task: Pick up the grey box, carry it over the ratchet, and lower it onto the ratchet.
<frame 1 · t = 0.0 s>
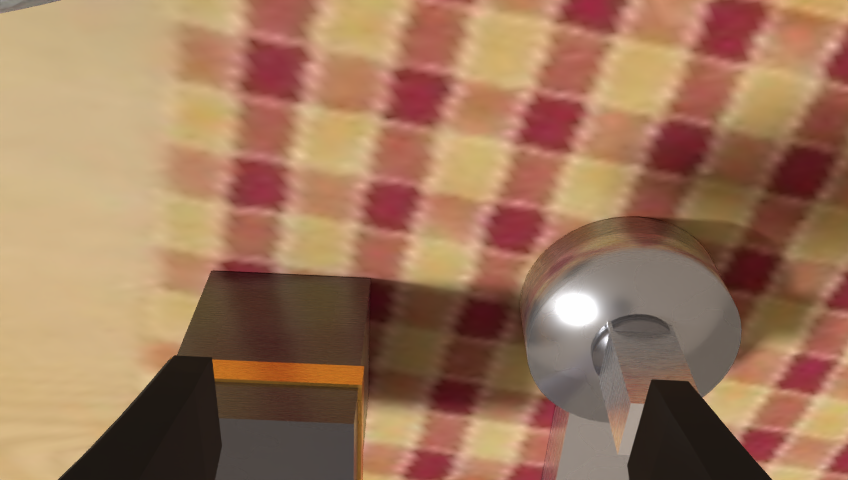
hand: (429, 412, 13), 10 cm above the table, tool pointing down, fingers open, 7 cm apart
ratchet: (618, 300, 25), on the table
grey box: (294, 336, 25), on the table
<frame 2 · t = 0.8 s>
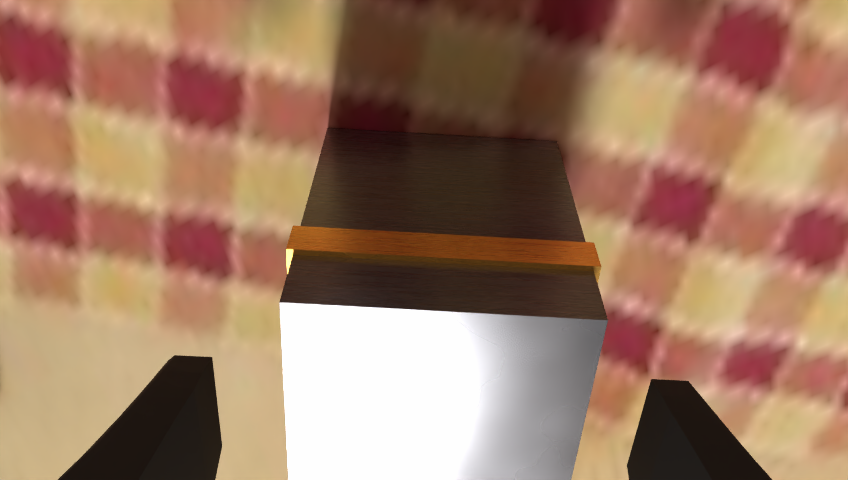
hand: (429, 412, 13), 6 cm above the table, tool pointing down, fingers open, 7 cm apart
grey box: (435, 231, 18), on the table
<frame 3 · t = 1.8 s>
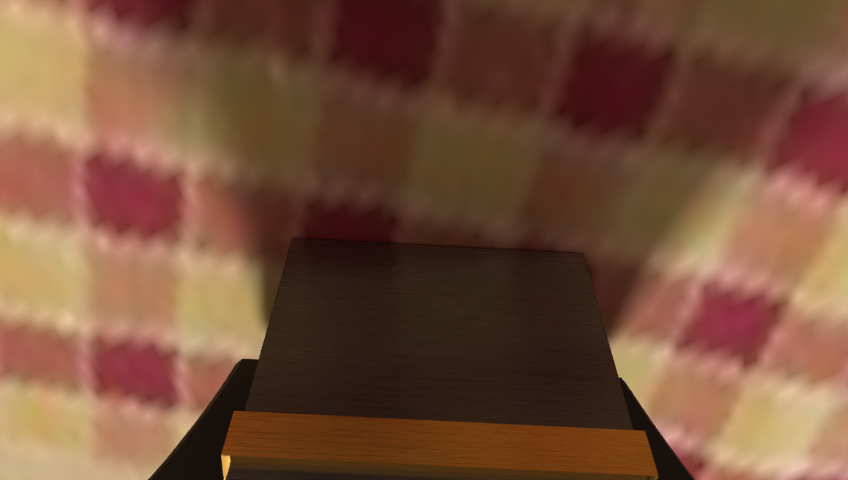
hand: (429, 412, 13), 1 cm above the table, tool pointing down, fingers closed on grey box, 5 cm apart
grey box: (429, 356, 14), on the table, touching gripper
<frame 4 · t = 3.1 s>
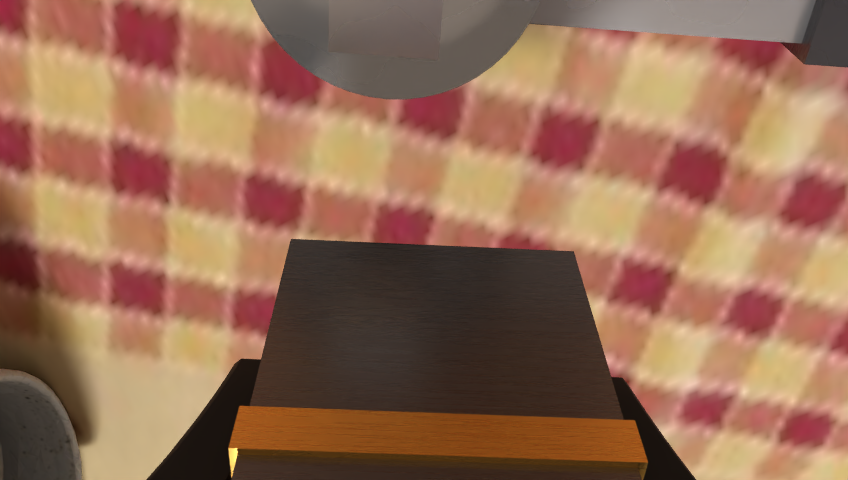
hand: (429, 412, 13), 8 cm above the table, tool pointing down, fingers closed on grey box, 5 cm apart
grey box: (425, 353, 15), point 7 cm above the table, touching gripper
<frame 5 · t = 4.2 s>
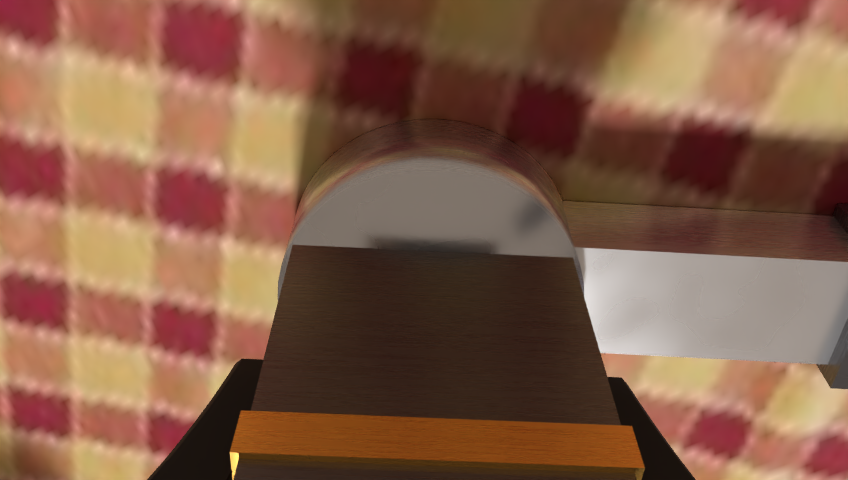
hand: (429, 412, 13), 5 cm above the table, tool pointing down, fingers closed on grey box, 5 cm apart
ratchet: (431, 245, 18), on the table
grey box: (425, 358, 15), point 3 cm above the table, touching gripper
when the fingers open (5 cm above the table, at t = 4.8 s): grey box stays where it is, resting on ratchet.
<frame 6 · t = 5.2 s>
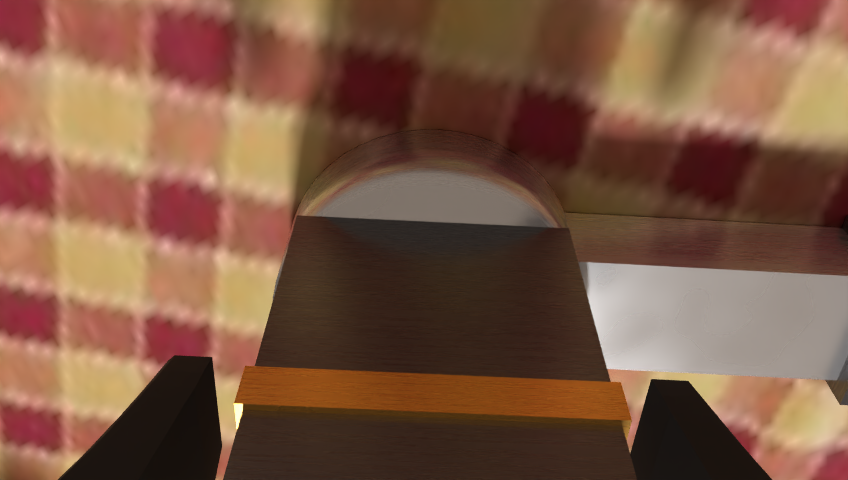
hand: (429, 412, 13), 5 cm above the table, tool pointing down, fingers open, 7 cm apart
ratchet: (430, 257, 17), on the table
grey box: (426, 328, 15), point 2 cm above the table, touching ratchet
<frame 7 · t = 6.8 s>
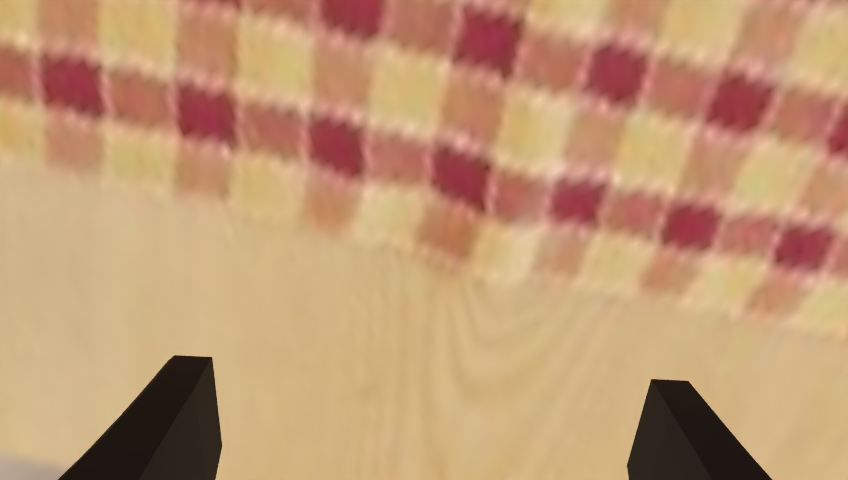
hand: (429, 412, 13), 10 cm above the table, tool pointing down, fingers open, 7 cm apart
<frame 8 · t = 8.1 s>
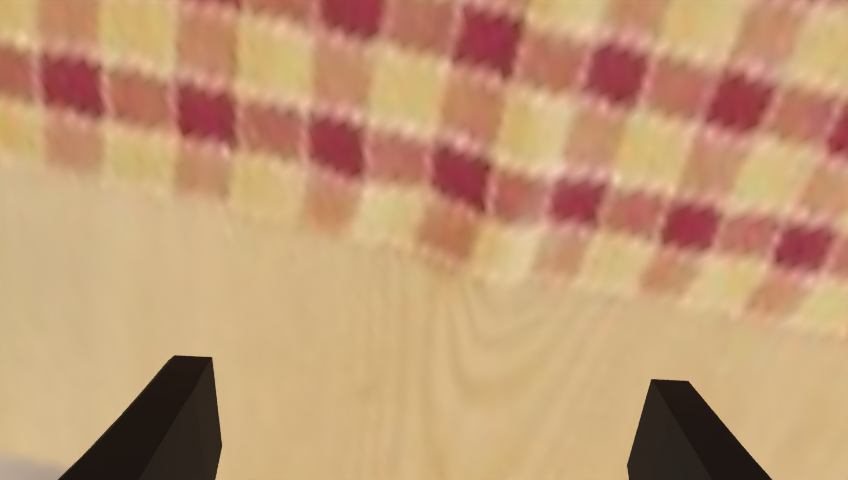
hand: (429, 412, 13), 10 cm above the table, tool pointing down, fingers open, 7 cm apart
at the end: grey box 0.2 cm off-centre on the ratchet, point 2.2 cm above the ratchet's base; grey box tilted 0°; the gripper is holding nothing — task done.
